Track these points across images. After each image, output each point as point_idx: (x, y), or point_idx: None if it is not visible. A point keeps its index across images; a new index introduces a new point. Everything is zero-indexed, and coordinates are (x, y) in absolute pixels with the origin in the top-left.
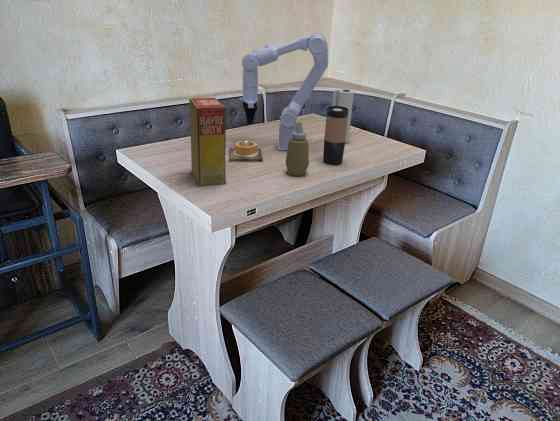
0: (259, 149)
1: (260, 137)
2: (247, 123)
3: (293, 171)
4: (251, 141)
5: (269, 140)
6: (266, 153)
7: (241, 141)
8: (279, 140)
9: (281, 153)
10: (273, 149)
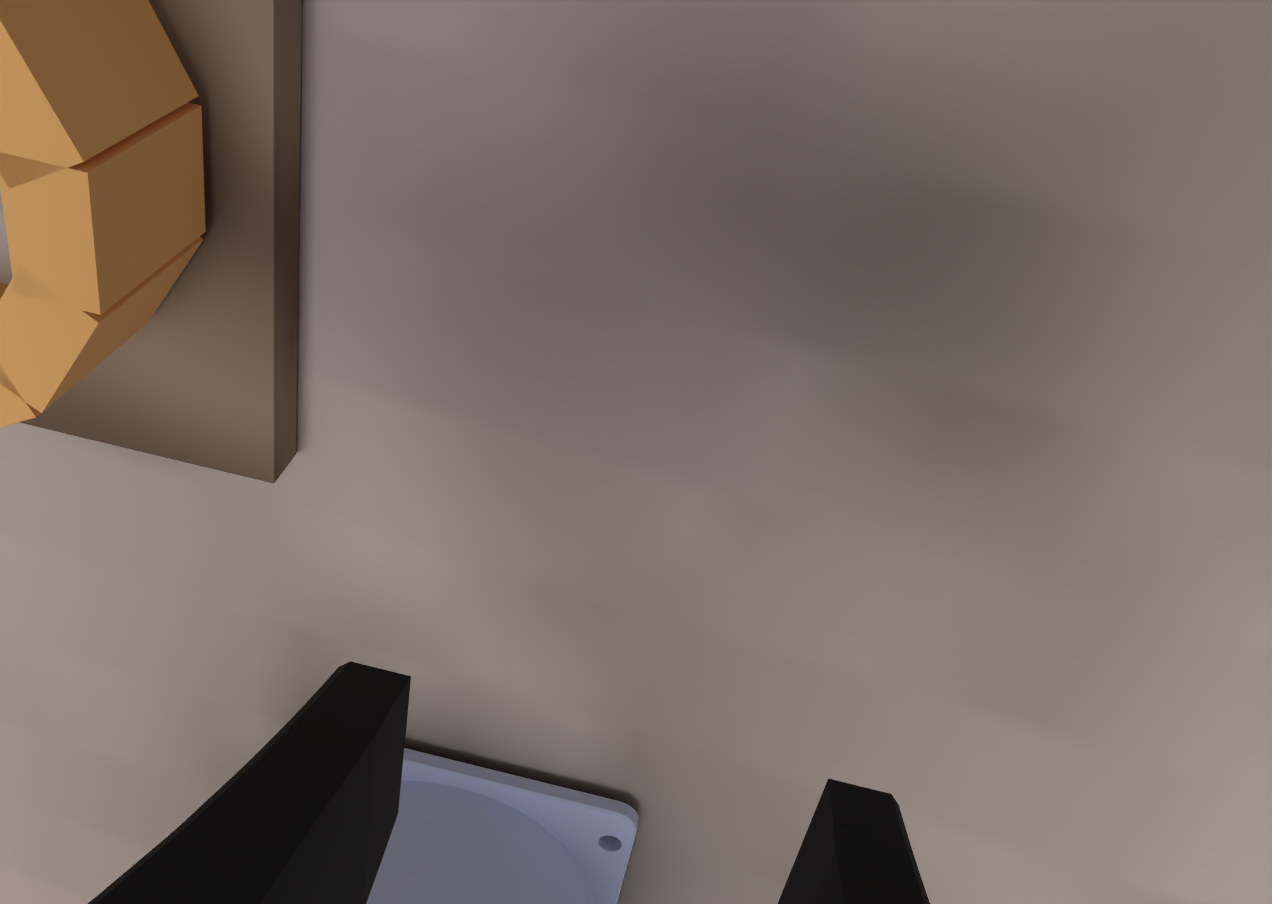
0: (195, 439)
1: (1153, 702)
2: (346, 663)
3: None
4: (44, 371)
5: (894, 774)
6: (148, 502)
7: (2, 102)
8: (374, 881)
9: (168, 705)
10: None
